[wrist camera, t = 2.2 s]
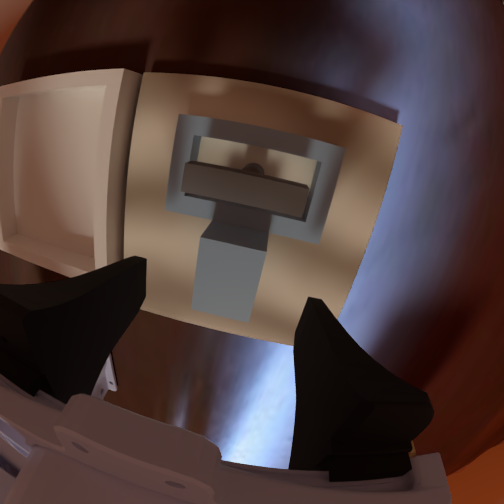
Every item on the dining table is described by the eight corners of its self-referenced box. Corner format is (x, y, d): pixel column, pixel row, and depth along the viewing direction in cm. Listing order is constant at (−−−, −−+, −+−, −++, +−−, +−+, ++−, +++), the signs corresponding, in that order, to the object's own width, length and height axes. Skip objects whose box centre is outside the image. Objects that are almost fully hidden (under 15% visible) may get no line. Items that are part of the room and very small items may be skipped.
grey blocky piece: (296, 292, 18) (299, 333, 14) (168, 263, 18) (143, 295, 14) (339, 146, 14) (359, 151, 10) (187, 115, 14) (159, 110, 10)
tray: (124, 273, 20) (108, 290, 17) (16, 238, 20) (-1, 248, 17) (143, 75, 14) (124, 68, 12) (19, 86, 14) (-2, 87, 12)
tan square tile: (321, 341, 20) (328, 397, 15) (130, 297, 20) (96, 341, 15) (396, 125, 14) (443, 126, 9) (150, 75, 14) (101, 58, 9)
